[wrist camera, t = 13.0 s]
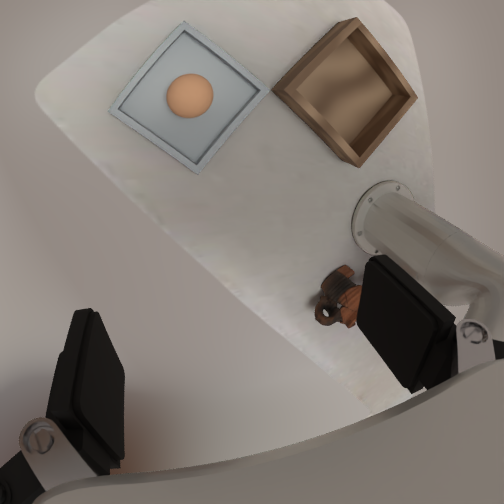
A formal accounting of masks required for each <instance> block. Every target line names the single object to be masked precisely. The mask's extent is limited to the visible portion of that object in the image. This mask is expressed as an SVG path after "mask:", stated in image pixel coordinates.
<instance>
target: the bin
mask: <svg viewBox="0 0 504 504" xmlns="http://www.w3.org/2000/svg"><path fill="white" fill-rule="evenodd" d="M271 91H273V92H274V93H275V94H276V95H277V96H278V97H279V98H280V99H281V100H282V101H283V102H284V103H286V104H287V105H288V106H289V107H290V108H291V109H292V110H293V111H294V112H295V113H296V114H297V115H298V116H299V117H300V118H301V119H302V120H303V121H304V122H305V123H306V124H307V125H308V126H309V127H310V128H311V129H312V130H313V131H314V132H315V133H316V134H317V135H318V136H319V137H320V138H321V139H322V140H323V141H324V142H325V143H326V144H327V145H328V146H329V147H330V148H331V149H332V150H333V151H334V152H335V154H336V155H337V156H338V157H339V158H340V159H341V160H342V161H344V162H347V163H349V164H351V165H353V166H355V167H357V168H360V167H361V166H362V165H363V163H364V162H365V161H366V160H367V159H368V157H369V156H370V155H371V154H372V153H373V151H374V150H375V149H376V148H377V147H378V146H379V144H380V143H381V142H382V141H383V140H384V138H385V137H386V136H387V135H388V134H389V132H390V131H391V130H392V129H393V128H394V126H395V125H396V124H397V123H398V122H399V120H400V119H401V118H402V117H403V115H404V114H405V113H406V112H407V111H408V109H409V108H410V107H411V106H412V104H413V103H414V102H415V101H416V100H417V98H418V97H417V95H416V94H415V92H414V91H413V89H412V88H411V86H410V85H409V83H408V82H407V80H406V79H405V78H404V76H403V75H402V73H401V72H400V70H399V69H398V68H397V66H396V65H395V64H394V62H393V61H392V60H391V58H390V57H389V56H388V54H387V53H386V52H385V50H384V49H383V48H382V47H381V45H380V44H379V43H378V42H377V40H376V39H375V38H374V37H373V35H372V34H371V33H370V32H369V31H368V29H367V28H366V27H365V26H364V25H363V24H362V22H361V21H360V20H359V19H358V18H357V17H355V18H352V19H348V20H345V21H341V22H338V23H337V24H336V25H335V26H334V27H333V28H332V29H331V30H330V31H329V32H328V33H326V34H325V35H324V36H323V37H322V38H321V39H320V40H319V41H318V42H317V43H316V44H315V45H314V46H313V47H312V48H311V49H310V50H309V51H308V52H307V53H306V54H305V55H304V56H303V57H302V58H301V59H300V60H299V61H298V62H297V63H296V64H295V65H294V66H293V67H292V68H291V69H290V70H289V71H288V72H287V73H286V74H285V75H284V77H283V78H282V79H281V80H280V81H279V82H278V83H277V84H276V85H275V86H274V87H273V88H272V89H271Z"/></svg>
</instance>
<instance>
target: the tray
mask: <svg viewBox="0 0 504 504" xmlns="http://www.w3.org/2000/svg"><path fill="white" fill-rule="evenodd" d="M184 74H198V75H201V76H203V77H204V78H206V79H207V80H208V81H209V83H210V84H211V86H212V89H213V101H212V104H211V106H210V107H209V109H208V110H207V111H206V112H205V113H203V114H202V115H200V116H198V117H195V118H183V117H180V116H178V115H176V114H175V113H173V112H172V111H171V109H170V108H169V106H168V104H167V99H166V95H167V90H168V88H169V86H170V84H171V83H172V82H173V81H174V80H175V79H176V78H178V77H179V76H181V75H184ZM269 91H270V89H269V88H268V87H266V86H265V85H264V84H263V83H262V82H261V81H260V80H259V79H257V78H256V77H255V76H254V75H253V74H252V73H250V72H249V71H248V70H247V69H246V68H245V67H243V66H242V65H241V64H240V63H239V62H237V61H236V60H235V59H234V58H232V57H231V56H230V55H229V54H227V53H226V52H225V51H224V50H222V49H221V48H220V47H219V46H217V45H216V44H215V43H213V42H212V41H211V40H210V39H208V38H207V37H206V36H204V35H203V34H202V33H200V32H199V31H198V30H196V29H195V28H193V27H192V26H191V25H189V24H188V23H186V22H185V21H183V22H182V23H181V24H180V25H179V26H178V27H177V28H176V29H175V30H174V31H173V32H172V33H171V34H170V35H169V37H168V38H167V39H166V40H165V41H164V42H163V43H162V44H161V45H160V46H159V47H158V49H157V50H156V51H155V52H154V53H153V54H152V55H151V57H150V58H149V59H148V60H147V61H146V62H145V64H144V65H143V66H142V67H141V68H140V70H139V71H138V72H137V73H136V74H135V76H134V77H133V78H132V79H131V81H130V82H129V83H128V85H127V86H126V87H125V88H124V90H123V91H122V92H121V94H120V95H119V96H118V98H117V99H116V100H115V102H114V103H113V105H112V106H111V107H110V109H109V110H108V112H109V113H111V114H112V115H114V116H115V117H117V118H118V119H119V120H121V121H122V122H124V123H125V124H127V125H128V126H130V127H131V128H132V129H134V130H135V131H137V132H138V133H140V134H141V135H143V136H144V137H145V138H147V139H148V140H150V141H151V142H153V143H154V144H155V145H157V146H158V147H160V148H161V149H162V150H164V151H165V152H167V153H168V154H169V155H171V156H172V157H174V158H175V159H176V160H178V161H179V162H181V163H182V164H183V165H185V166H186V167H188V168H189V169H190V170H192V171H193V172H195V173H196V174H197V175H198V174H199V173H200V172H201V170H202V169H203V168H204V167H205V165H206V164H207V163H208V162H209V160H210V159H211V158H212V157H213V155H214V154H215V153H216V152H217V151H218V149H219V148H220V147H221V146H222V145H223V143H224V142H225V141H226V140H227V139H228V137H229V136H230V135H231V134H232V133H233V132H234V130H235V129H236V128H237V127H238V126H239V125H240V123H241V122H242V121H243V120H244V119H245V118H246V117H247V115H248V114H249V113H250V112H251V111H252V110H253V109H254V108H255V106H256V105H257V104H258V103H259V102H260V101H261V100H262V99H263V98H264V97H265V95H266V94H267V93H268V92H269Z"/></svg>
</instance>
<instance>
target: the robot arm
mask: <svg viewBox="0 0 504 504" xmlns="http://www.w3.org/2000/svg"><path fill="white" fill-rule="evenodd" d="M352 232H353V237H354V240H355V242H356V244H357V245H358V246H359V247H360V248H361V249H362V250H363V251H364V252H366V253H368V254H371V255H378V256H373V257H371V258H370V259H369V262H367V263H366V265H365V271H364V278H363V284H362V290H361V295H360V301H359V306H358V312H357V317H356V322H357V325H358V327H359V328H360V330H361V331H362V332H363V334H364V335H365V336H366V338H367V339H368V340H369V342H370V343H371V344H372V346H373V347H374V348H375V350H376V351H377V352H378V354H379V355H380V356H381V358H382V359H383V360H384V362H385V363H386V365H387V366H388V367H389V369H390V370H391V371H392V373H393V374H394V375H395V377H396V378H397V380H398V381H399V382H400V384H401V385H402V386H403V387H404V388H407V389H408V390H409V391H410V393H411V394H413V393H415V392H417V391H419V390H421V389H422V388H423V387H425V388H426V389H427V391H425V392H423V393H421V394H419V395H417V396H415V397H413V398H411V399H409V400H407V401H405V402H403V403H401V404H399V405H396V406H394V407H392V408H390V409H387V410H385V411H383V412H381V413H378V414H376V415H374V416H371V417H369V418H366V419H364V420H361V421H359V422H356V423H354V424H351V425H349V426H346V427H343V428H341V429H338V430H335V431H332V432H329V433H326V434H324V435H321V436H318V437H315V438H311V439H308V440H305V441H302V442H299V443H296V444H292V445H288V446H285V447H282V448H278V449H274V450H270V451H266V452H262V453H258V454H254V455H250V456H245V457H241V458H236V459H232V460H226V461H221V462H216V463H210V464H204V465H198V466H191V467H184V468H176V469H169V470H160V471H151V472H140V473H127V474H116V475H110V469H113V468H120V460H123V459H124V456H125V453H124V384H125V373H124V369H123V366H122V364H121V362H120V360H119V358H118V355H117V353H116V351H115V349H114V347H113V345H112V342H111V340H110V338H109V336H108V333H107V331H106V329H105V326H104V324H103V322H102V319H101V317H100V315H99V313H98V312H94V311H93V310H92V309H91V308H88V309H81V310H76V311H75V312H74V314H73V318H72V321H71V325H70V328H69V332H68V335H67V339H66V342H65V346H64V350H63V352H61V353H60V355H59V358H58V361H57V365H56V369H55V373H54V378H53V382H52V387H51V391H50V396H49V401H48V406H47V412H46V417H45V418H44V417H39V418H34V419H32V420H31V421H29V422H28V423H27V424H26V425H25V426H24V427H23V428H22V430H21V432H20V436H19V446H20V449H21V451H20V452H18V453H17V454H16V455H15V456H14V457H13V458H11V459H10V460H9V461H8V462H7V463H6V464H4V465H3V466H2V467H1V468H0V504H504V255H502V254H500V253H498V252H496V251H494V250H493V249H491V248H490V247H488V246H486V245H485V244H483V243H481V242H480V241H478V240H477V239H475V238H473V237H472V236H470V235H469V234H467V233H465V232H464V231H462V230H461V229H459V228H458V227H456V226H454V225H453V224H451V223H449V222H448V221H446V220H445V219H443V218H441V217H440V216H438V215H436V214H435V213H433V212H431V211H429V210H428V209H426V208H424V207H422V206H421V205H419V204H417V203H415V201H414V197H413V195H412V193H411V191H410V190H409V189H408V188H407V187H406V186H404V185H403V184H400V183H398V182H395V181H385V182H382V183H379V184H377V185H375V186H374V187H372V188H371V189H370V190H368V192H367V193H366V194H365V195H364V196H363V197H362V199H361V200H360V202H359V203H358V205H357V208H356V210H355V213H354V216H353V222H352ZM442 304H443V305H446V306H461V305H468V304H470V305H469V309H468V311H467V313H466V315H465V316H464V319H463V320H461V321H460V322H459V323H458V324H457V326H456V325H455V324H454V321H455V318H456V317H455V316H454V315H453V314H452V313H451V312H450V311H449V310H448V309H446V308H445V307H444V306H443V305H442Z"/></svg>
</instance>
